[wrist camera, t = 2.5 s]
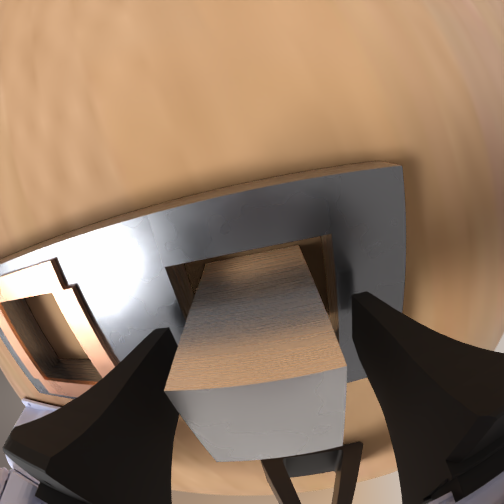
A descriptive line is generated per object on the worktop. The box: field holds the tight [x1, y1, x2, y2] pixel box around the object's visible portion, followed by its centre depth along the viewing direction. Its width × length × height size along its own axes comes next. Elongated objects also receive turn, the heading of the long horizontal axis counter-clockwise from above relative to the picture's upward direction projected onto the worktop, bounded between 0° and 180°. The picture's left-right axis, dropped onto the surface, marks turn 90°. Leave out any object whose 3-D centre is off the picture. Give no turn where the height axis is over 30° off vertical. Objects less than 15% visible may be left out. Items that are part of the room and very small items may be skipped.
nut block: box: [164, 245, 347, 462], centre depth 9 cm, size 4×4×7 cm
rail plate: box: [0, 161, 406, 399], centre depth 12 cm, size 24×10×2 cm, turn 102°
